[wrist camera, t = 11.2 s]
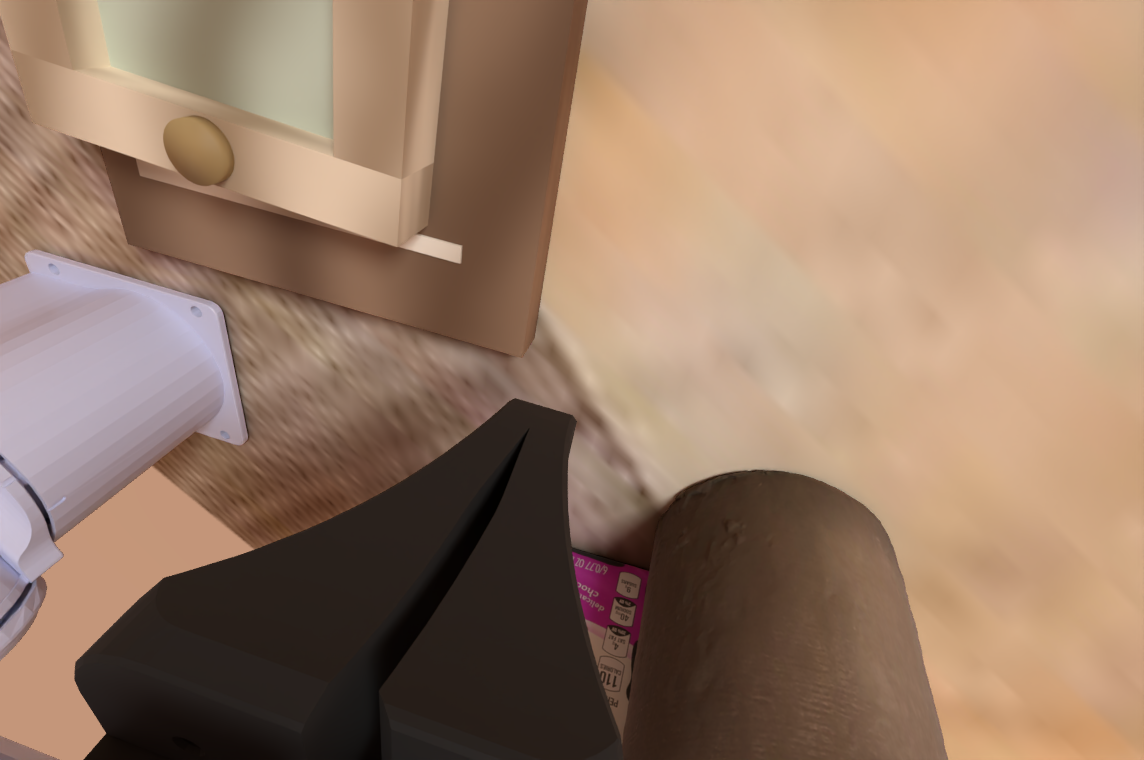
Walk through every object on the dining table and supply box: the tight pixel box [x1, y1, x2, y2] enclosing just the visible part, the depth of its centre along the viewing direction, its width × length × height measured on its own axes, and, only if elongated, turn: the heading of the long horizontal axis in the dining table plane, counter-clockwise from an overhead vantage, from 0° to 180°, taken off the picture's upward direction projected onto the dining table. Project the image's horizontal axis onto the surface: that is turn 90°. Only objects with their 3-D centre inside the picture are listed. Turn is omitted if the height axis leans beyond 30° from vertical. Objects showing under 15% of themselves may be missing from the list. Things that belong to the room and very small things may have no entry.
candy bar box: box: [572, 548, 649, 742], centre depth 22 cm, size 11×5×16 cm, turn 82°
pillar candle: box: [622, 470, 948, 760], centre depth 19 cm, size 10×10×15 cm
